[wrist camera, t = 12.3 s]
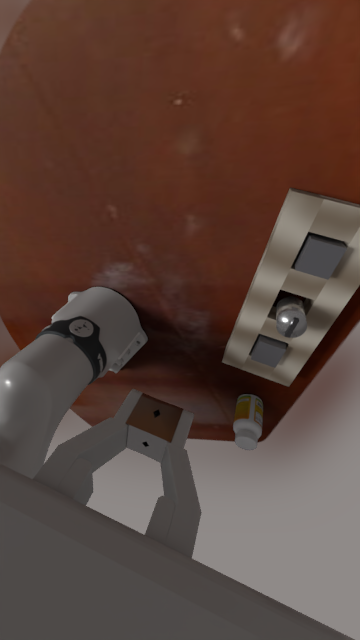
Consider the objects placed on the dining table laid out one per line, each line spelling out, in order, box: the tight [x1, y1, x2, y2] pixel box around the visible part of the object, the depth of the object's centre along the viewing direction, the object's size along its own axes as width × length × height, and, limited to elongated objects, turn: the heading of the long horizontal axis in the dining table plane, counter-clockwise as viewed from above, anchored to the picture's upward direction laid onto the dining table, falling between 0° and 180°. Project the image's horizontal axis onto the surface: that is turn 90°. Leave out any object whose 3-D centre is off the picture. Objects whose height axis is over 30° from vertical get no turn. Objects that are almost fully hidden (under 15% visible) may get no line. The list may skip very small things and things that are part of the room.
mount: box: [222, 188, 360, 387], centre depth 37 cm, size 28×12×4 cm, turn 169°
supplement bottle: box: [233, 394, 263, 450], centre depth 49 cm, size 5×5×10 cm
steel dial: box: [276, 296, 307, 338], centre depth 34 cm, size 4×4×6 cm
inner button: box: [251, 334, 286, 368], centre depth 41 cm, size 4×4×5 cm
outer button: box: [294, 232, 347, 280], centre depth 32 cm, size 4×4×5 cm
